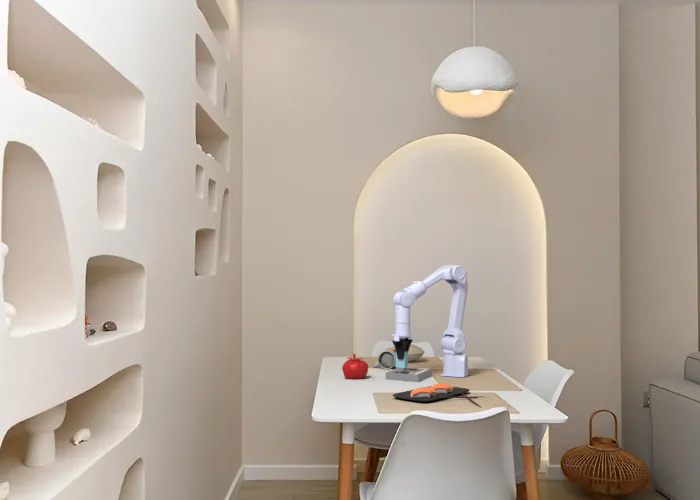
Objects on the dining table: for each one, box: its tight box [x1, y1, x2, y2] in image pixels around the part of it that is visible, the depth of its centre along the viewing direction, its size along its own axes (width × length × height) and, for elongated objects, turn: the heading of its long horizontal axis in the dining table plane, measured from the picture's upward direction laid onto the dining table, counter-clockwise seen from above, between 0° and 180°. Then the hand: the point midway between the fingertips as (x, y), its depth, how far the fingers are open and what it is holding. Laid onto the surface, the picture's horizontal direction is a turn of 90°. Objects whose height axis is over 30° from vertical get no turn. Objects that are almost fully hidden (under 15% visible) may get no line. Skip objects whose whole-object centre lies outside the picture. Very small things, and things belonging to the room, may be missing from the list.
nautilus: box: [385, 343, 425, 363], centre depth 332 cm, size 8×22×15 cm
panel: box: [385, 367, 432, 383], centre depth 285 cm, size 13×17×3 cm
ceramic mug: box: [372, 349, 396, 370], centre depth 311 cm, size 11×8×8 cm
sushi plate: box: [392, 383, 485, 409], centre depth 240 cm, size 29×30×4 cm
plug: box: [395, 351, 409, 369], centre depth 281 cm, size 4×4×7 cm
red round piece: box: [341, 353, 369, 380], centre depth 282 cm, size 10×10×9 cm
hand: (402, 358), depth 281 cm, fingers closed on plug, 4 cm apart
